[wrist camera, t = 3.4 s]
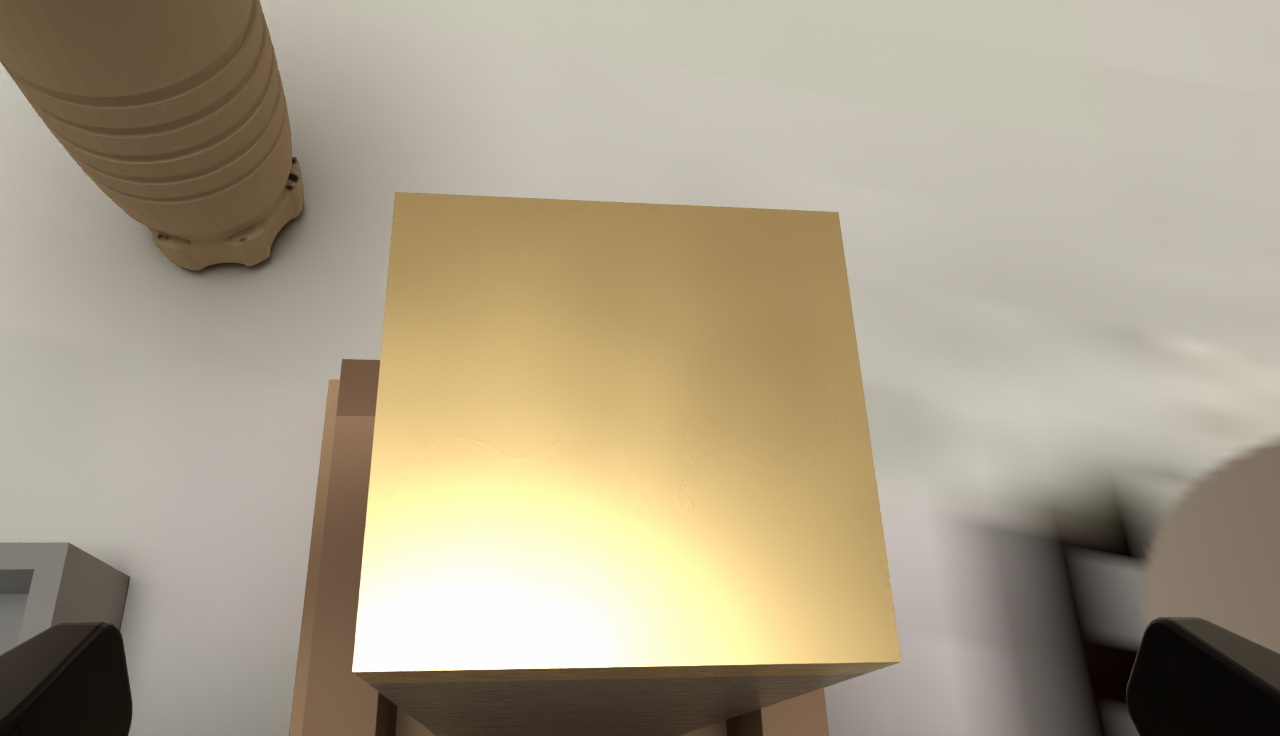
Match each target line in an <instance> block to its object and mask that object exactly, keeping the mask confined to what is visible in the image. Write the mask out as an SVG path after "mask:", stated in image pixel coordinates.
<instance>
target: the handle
mask: <svg viewBox="0 0 1280 736" xmlns="http://www.w3.org/2000/svg"><path fill="white" fill-rule="evenodd" d="M0 62H1V63H2V64H3V66H4V67H5V69H6V70H7V71H8V73H9V74H10V76H11V77H12V79H13V80H14V81H15V83H16V84H17V85H18V87H19V88H20V90H21V91H22V93H23V94H24V95H25V97H26V98H27V100H28V101H29V102H30V104H31V105H32V107H33V108H34V109H35V111H36V112H37V113H38V115H39V116H40V117H41V119H42V120H43V121H44V123H45V124H46V125H47V127H48V128H49V129H50V131H51V132H52V133H53V134H54V136H55V137H56V138H57V139H58V140H59V142H60V143H61V144H62V145H63V146H64V147H65V149H66V150H67V151H68V153H69V154H70V155H71V156H72V157H73V159H74V160H75V161H76V162H77V163H78V165H79V166H80V167H81V168H82V169H83V171H84V172H85V173H86V174H87V175H88V176H89V177H90V178H91V179H92V180H93V181H94V182H95V184H96V185H97V186H98V187H99V188H100V189H101V190H102V191H103V192H104V193H105V194H106V195H107V196H108V197H110V198H111V199H112V200H113V201H114V202H115V203H116V204H117V205H118V206H119V207H120V208H122V209H123V210H124V211H125V212H126V213H127V214H128V215H129V216H130V217H132V218H133V219H135V220H137V221H138V222H140V223H142V224H144V225H146V226H148V227H149V229H150V230H151V232H152V234H153V236H154V242H155V243H156V245H157V246H158V247H159V248H160V249H161V250H162V252H163V253H164V254H165V255H166V256H167V257H168V258H169V259H170V260H172V261H173V262H174V263H175V264H176V265H179V266H181V267H183V268H186V269H190V270H202V269H203V268H205V267H207V266H210V265H213V264H219V263H241V264H245V265H246V266H253V265H255V264H258V263H260V262H262V261H263V260H265V259H267V258H268V257H269V256H270V248H271V245H272V243H273V240H274V239H275V237H276V235H277V234H278V232H279V231H280V230H281V229H282V227H283V226H284V225H285V224H286V223H287V222H289V221H290V220H292V219H295V218H296V217H297V216H298V215H299V214H300V213H301V210H302V206H303V186H302V180H301V174H300V169H299V163H298V161H297V159H296V157H292V144H291V132H290V124H289V117H288V112H287V106H286V100H285V96H284V92H283V86H282V82H281V78H280V74H279V71H278V66H277V61H276V57H275V52H274V48H273V45H272V42H271V37H270V34H269V31H268V27H267V24H266V21H265V18H264V15H263V12H262V7H261V4H260V1H259V0H0Z"/></svg>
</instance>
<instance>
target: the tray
mask: <svg viewBox="0 0 1280 736" xmlns="http://www.w3.org/2000/svg"><path fill="white" fill-rule="evenodd" d="M128 582H129V576H127V575H125V574H123V573H122V572H120V571H118V570H116V569H115V568H113V567H111V566H109V565H108V564H106V563H104V562H102V561H100V560H99V559H97V558H95V557H93V556H92V555H90V554H88V553H86V552H84V551H83V550H81V549H79V548H77V547H76V546H74V545H72V544H70V543H0V655H1V654H3V653H5V652H7V651H9V650H10V649H12V648H14V647H16V646H17V645H19V644H21V643H23V642H25V641H26V640H28V639H30V638H32V637H33V636H35V635H37V634H39V633H41V632H42V631H44V630H46V629H48V628H50V627H51V626H53V625H55V624H57V623H61V622H66V621H109V622H111V623H113V624H114V625H116V626H117V627H118V628H119V629H120V624H121V619H122V614H123V608H124V603H125V598H126V593H127V587H128Z"/></svg>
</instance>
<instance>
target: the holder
mask: <svg viewBox="0 0 1280 736" xmlns="http://www.w3.org/2000/svg"><path fill="white" fill-rule="evenodd" d="M379 370H380V360H351V359H342V367H341V376H340V380H329V387H328V396H327V405H326V414H325V423H324V431H323V440H322V449H321V458H320V467H319V476H318V484H317V493H316V502H315V511H314V520H313V528H312V537H311V546H310V555H309V564H308V573H307V581H306V590H305V599H304V608H303V617H302V626H301V634H300V643H299V652H298V661H297V670H296V679H295V687H294V696H293V705H292V714H291V723H290V732H289V736H436V735H435V734H434V733H432V732H431V731H430V730H428V729H427V728H426V727H424V726H423V725H422V724H420V723H419V722H418V721H417V720H415V719H414V718H413V717H411V716H410V715H409V714H407V713H406V712H405V711H403V710H402V709H401V708H399V707H398V706H397V705H395V704H394V703H393V702H391V701H390V700H389V699H387V698H386V697H385V696H384V695H382V694H381V693H380V692H378V691H377V690H376V689H374V688H373V687H372V686H370V685H369V684H368V683H366V682H365V681H364V680H362V679H361V678H360V677H358V676H357V675H356V674H354V673H353V672H352V671H353V660H354V649H355V638H356V626H357V615H358V604H359V593H360V582H361V571H362V560H363V548H364V537H365V526H366V515H367V504H368V493H369V482H370V470H371V459H372V448H373V437H374V426H375V415H376V404H377V392H378V381H379ZM657 736H829V735H828V725H827V716H826V707H825V697H824V688H821V689H818V690H815V691H812V692H809V693H806V694H803V695H800V696H797V697H794V698H791V699H788V700H785V701H782V702H779V703H776V704H773V705H770V706H767V707H764V708H761V709H758V710H755V711H752V712H749V713H746V714H743V715H740V716H737V717H734V718H731V719H728V720H725V721H722V722H719V723H715V724H712V725H709V726H706V727H703V728H700V729H697V730H694V731H691V732H688V733H685V734H682V735H657Z"/></svg>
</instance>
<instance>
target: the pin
mask: <svg viewBox="0 0 1280 736" xmlns="http://www.w3.org/2000/svg"><path fill="white" fill-rule="evenodd" d="M899 662H901V655H900V648H899V641H898V633H897V626H896V619H895V612H894V605H893V598H892V591H891V584H890V576H889V569H888V562H887V555H886V548H885V541H884V534H883V527H882V520H881V512H880V505H879V498H878V491H877V484H876V477H875V470H874V463H873V455H872V448H871V441H870V434H869V427H868V420H867V413H866V406H865V399H864V391H863V384H862V377H861V370H860V363H859V356H858V349H857V342H856V334H855V327H854V320H853V313H852V306H851V299H850V292H849V285H848V278H847V270H846V263H845V256H844V249H843V242H842V235H841V228H840V221H839V213H838V212H822V211H800V210H778V209H756V208H734V207H712V206H690V205H668V204H646V203H624V202H601V201H579V200H557V199H535V198H513V197H491V196H469V195H447V194H425V193H402V192H395V203H394V214H393V225H392V237H391V248H390V259H389V270H388V281H387V292H386V303H385V315H384V326H383V337H382V348H381V359H380V370H379V381H378V392H377V404H376V415H375V426H374V437H373V448H372V459H371V470H370V482H369V493H368V504H367V515H366V526H365V537H364V548H363V560H362V571H361V582H360V593H359V604H358V615H357V626H356V638H355V649H354V660H353V671H352V672H353V673H354V674H356V675H357V676H358V677H360V678H361V679H362V680H364V681H365V682H366V683H368V684H369V685H370V686H372V687H373V688H374V689H376V690H377V691H378V692H380V693H381V694H382V695H384V696H385V697H386V698H387V699H389V700H390V701H391V702H393V703H394V704H395V705H397V706H398V707H399V708H401V709H402V710H403V711H405V712H406V713H407V714H409V715H410V716H411V717H413V718H414V719H415V720H417V721H418V722H419V723H420V724H422V725H423V726H424V727H426V728H427V729H428V730H430V731H431V732H432V733H434V734H435V735H436V736H657V735H682V734H685V733H688V732H691V731H694V730H697V729H700V728H703V727H706V726H709V725H712V724H715V723H719V722H722V721H725V720H728V719H731V718H734V717H737V716H740V715H743V714H746V713H749V712H752V711H755V710H758V709H761V708H764V707H767V706H770V705H773V704H776V703H779V702H782V701H785V700H788V699H791V698H794V697H797V696H800V695H803V694H806V693H809V692H812V691H815V690H818V689H821V688H824V687H827V686H830V685H833V684H836V683H839V682H842V681H845V680H848V679H851V678H854V677H857V676H860V675H863V674H866V673H869V672H872V671H875V670H878V669H881V668H884V667H887V666H890V665H893V664H896V663H899Z"/></svg>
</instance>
